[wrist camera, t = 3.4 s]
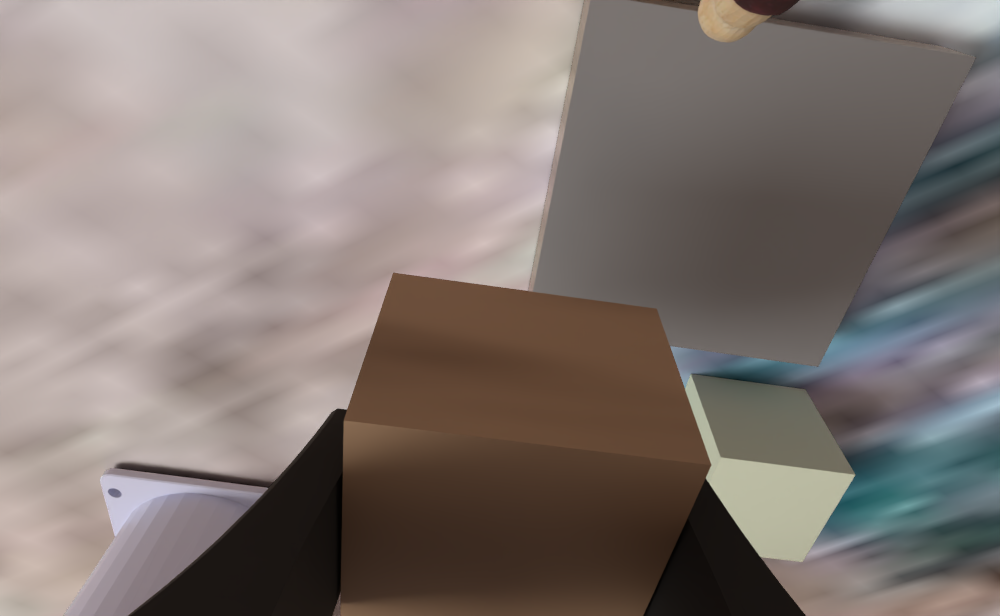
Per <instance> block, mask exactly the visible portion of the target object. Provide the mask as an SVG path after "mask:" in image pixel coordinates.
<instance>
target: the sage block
mask: <svg viewBox="0 0 1000 616" xmlns="http://www.w3.org/2000/svg"><path fill="white" fill-rule="evenodd" d="M685 391H686V394H687V397H688V399H689V402H690V405H691V408H692V411H693V414H694V417H695V419H696V422H697V425H698V428H699V431H700V434H701V437H702V439H703V442H704V445H705V448H706V451H707V454H708V457H709V459H710V462H711V467H710V470H709V472H708V474H707V476H706V479H707V481H708V482H709V484H710V485H711V487H712V488H713V490H714V491H715V493H716V494H717V496H718V497H719V499H720V500H721V502H722V503H723V505H724V506H725V508H726V509H727V511H728V512H729V514H730V515H731V516H732V518H733V519H734V521H735V522H736V524H737V525H738V527H739V528H740V529H741V531H742V532H743V534H744V535H745V537H746V538H747V539H748V541H749V542H750V543H751V545H752V546H753V548H754V549H755V550H756V552H757V553H758V554H759V556H760V557H764V558H773V559H781V560H789V561H797V562H803V560H804V558H805V557H806V555H807V553H808V552H809V550H810V549H811V547H812V545H813V544H814V542H815V540H816V539H817V537H818V535H819V534H820V532H821V531H822V529H823V527H824V526H825V524H826V522H827V521H828V519H829V517H830V516H831V514H832V512H833V511H834V509H835V508H836V506H837V504H838V503H839V501H840V499H841V498H842V496H843V494H844V493H845V491H846V490H847V488H848V486H849V485H850V483H851V481H852V480H853V478H854V476H855V473H854V471H853V470H852V468H851V466H850V465H849V463H848V461H847V460H846V458H845V456H844V454H843V453H842V451H841V449H840V448H839V446H838V444H837V443H836V441H835V439H834V437H833V436H832V434H831V432H830V431H829V429H828V427H827V426H826V424H825V422H824V420H823V419H822V417H821V415H820V414H819V412H818V410H817V409H816V407H815V405H814V403H813V402H812V400H811V398H810V397H809V395H808V393H807V392H806V390H805V389H799V388H791V387H784V386H776V385H769V384H762V383H754V382H747V381H740V380H732V379H725V378H717V377H710V376H703V375H695V374H691V375H690V377H689V380H688V383H687V385H686V388H685Z"/></svg>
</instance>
